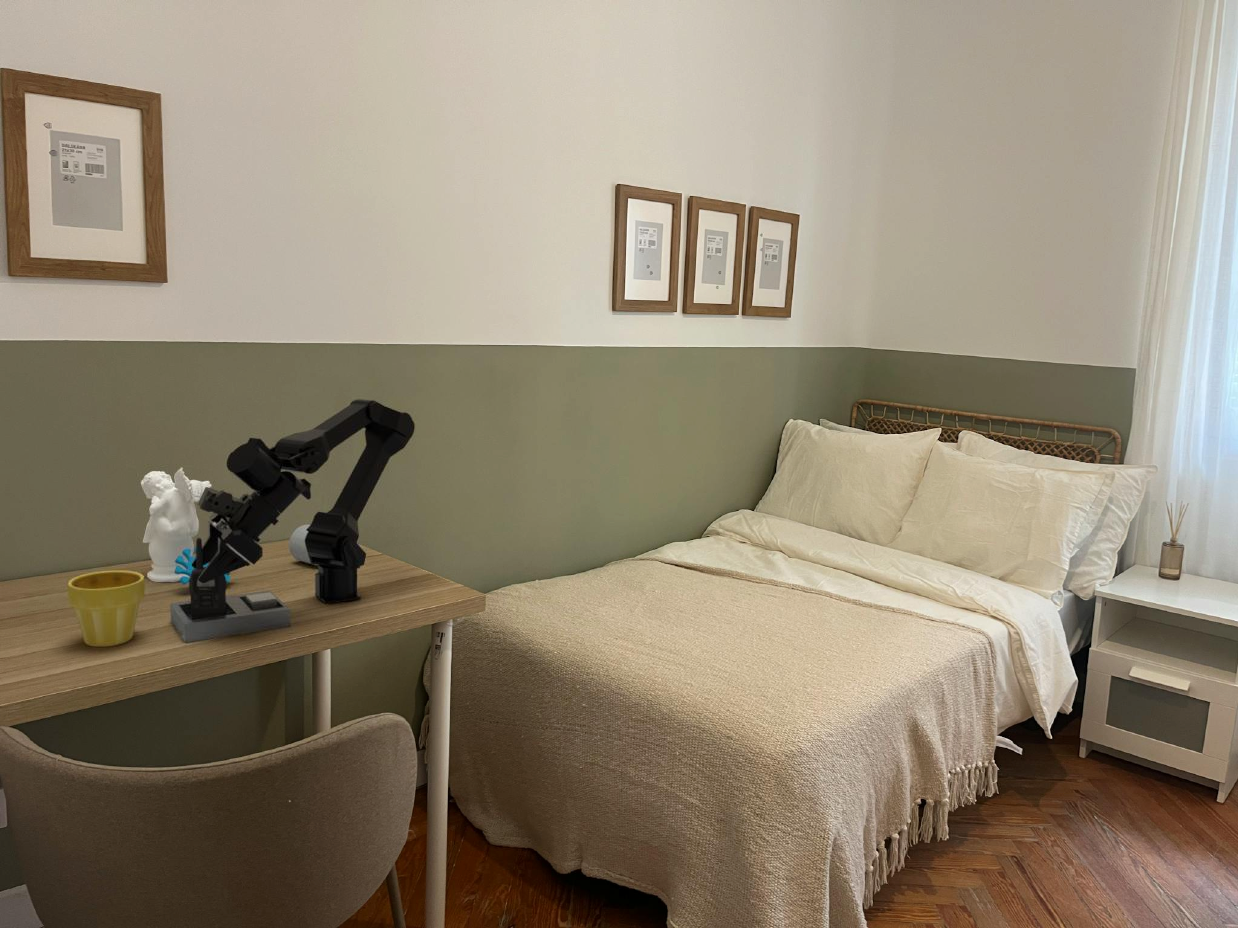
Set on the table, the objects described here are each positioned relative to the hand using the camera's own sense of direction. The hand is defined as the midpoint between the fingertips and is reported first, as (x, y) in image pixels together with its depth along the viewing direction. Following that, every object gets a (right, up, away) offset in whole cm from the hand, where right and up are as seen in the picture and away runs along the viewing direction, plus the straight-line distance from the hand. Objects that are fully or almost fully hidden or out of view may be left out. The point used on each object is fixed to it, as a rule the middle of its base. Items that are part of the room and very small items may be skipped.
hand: (196, 574), depth 150 cm
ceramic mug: (+6, -3, +44) cm, 45 cm away
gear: (-9, -6, +23) cm, 25 cm away
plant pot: (-11, -10, -5) cm, 16 cm away
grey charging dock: (+4, -9, +4) cm, 10 cm away
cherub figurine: (-17, -4, +31) cm, 35 cm away
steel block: (+8, -9, +7) cm, 14 cm away
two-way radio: (+1, -9, +3) cm, 9 cm away
